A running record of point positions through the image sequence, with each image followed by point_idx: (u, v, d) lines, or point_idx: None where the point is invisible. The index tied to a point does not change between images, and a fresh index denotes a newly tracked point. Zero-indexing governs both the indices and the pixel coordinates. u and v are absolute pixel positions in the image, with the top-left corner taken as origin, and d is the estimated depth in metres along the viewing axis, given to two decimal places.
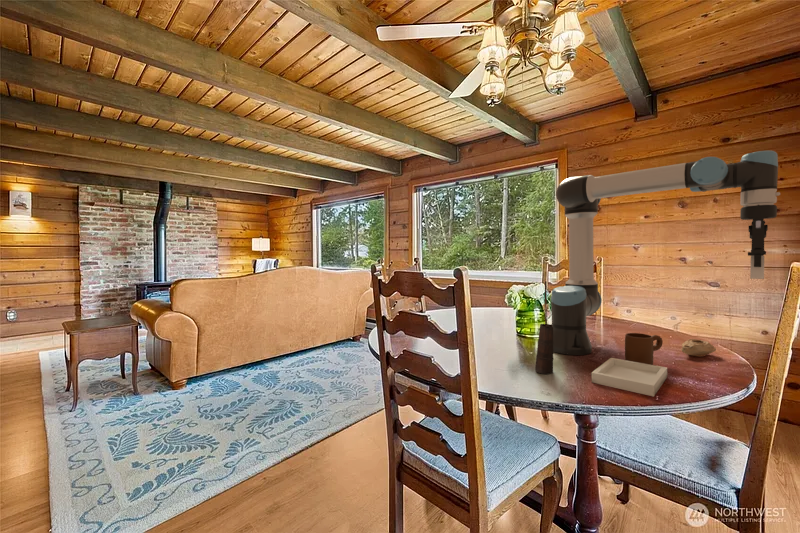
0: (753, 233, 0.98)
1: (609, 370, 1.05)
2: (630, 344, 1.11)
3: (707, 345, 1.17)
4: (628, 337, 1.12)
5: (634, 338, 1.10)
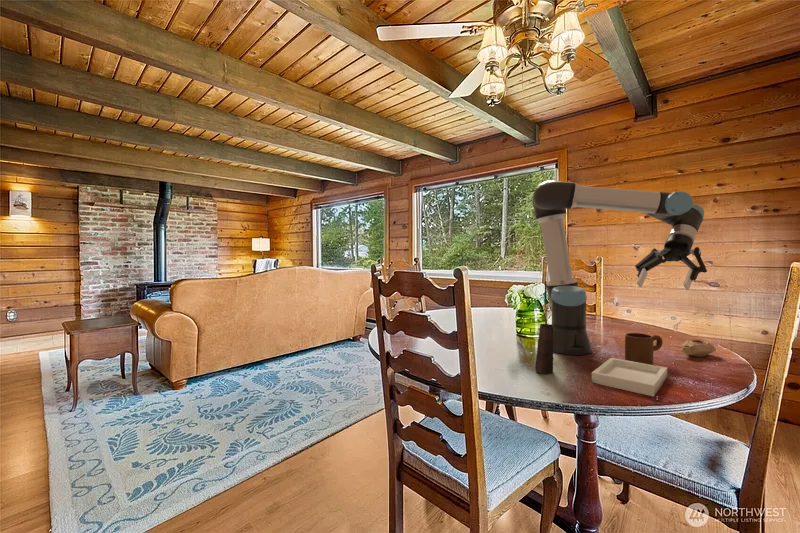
0: (699, 255, 1.14)
1: (609, 370, 1.05)
2: (630, 344, 1.11)
3: (707, 345, 1.17)
4: (628, 337, 1.12)
5: (634, 338, 1.10)
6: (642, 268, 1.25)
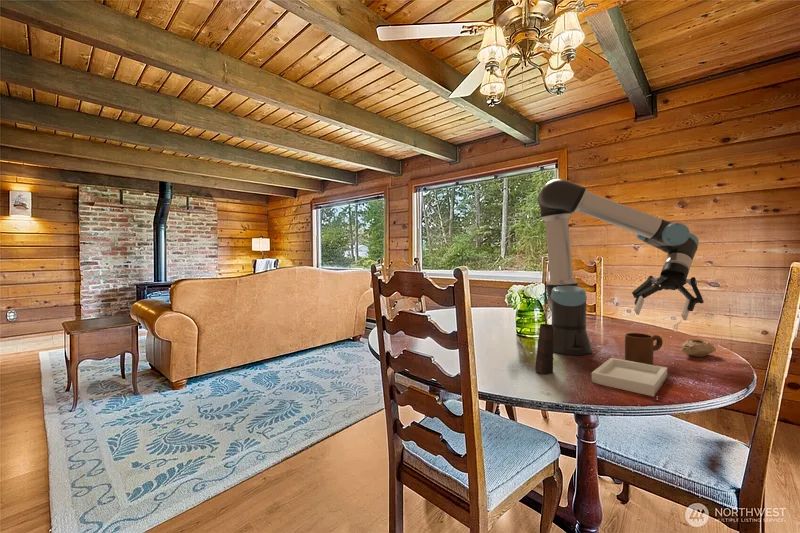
0: (696, 285, 1.16)
1: (609, 370, 1.05)
2: (630, 344, 1.11)
3: (707, 345, 1.17)
4: (628, 337, 1.12)
5: (634, 338, 1.10)
6: (639, 295, 1.26)
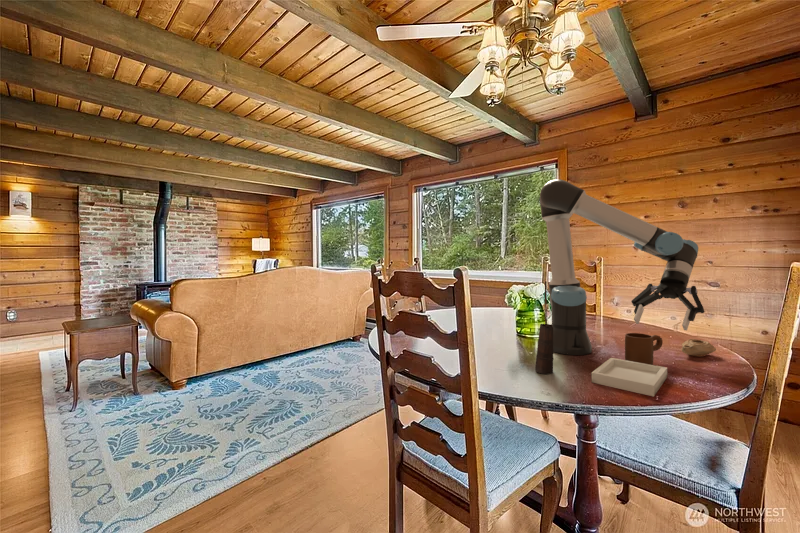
0: None
1: (609, 370, 1.05)
2: (630, 344, 1.11)
3: (707, 345, 1.17)
4: (628, 337, 1.12)
5: (634, 338, 1.10)
6: (639, 304, 1.24)
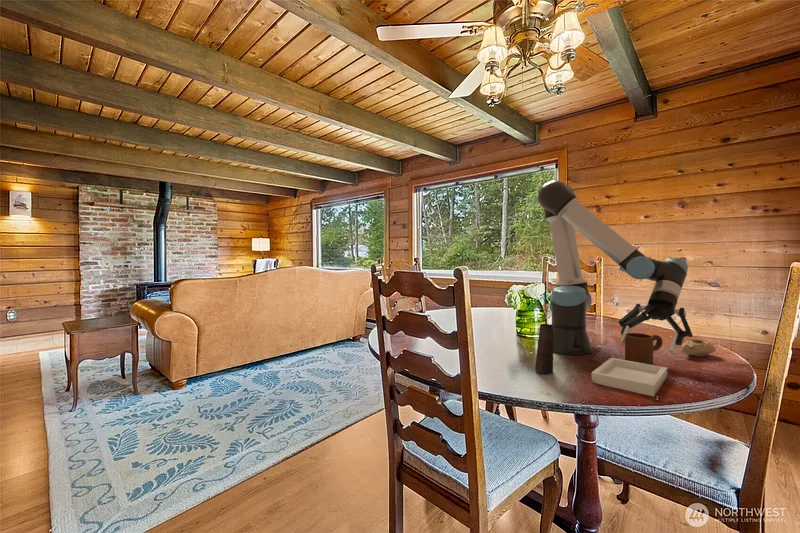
0: None
1: (609, 370, 1.05)
2: (630, 344, 1.11)
3: (707, 345, 1.17)
4: (628, 337, 1.12)
5: (634, 338, 1.10)
6: (626, 325, 1.20)
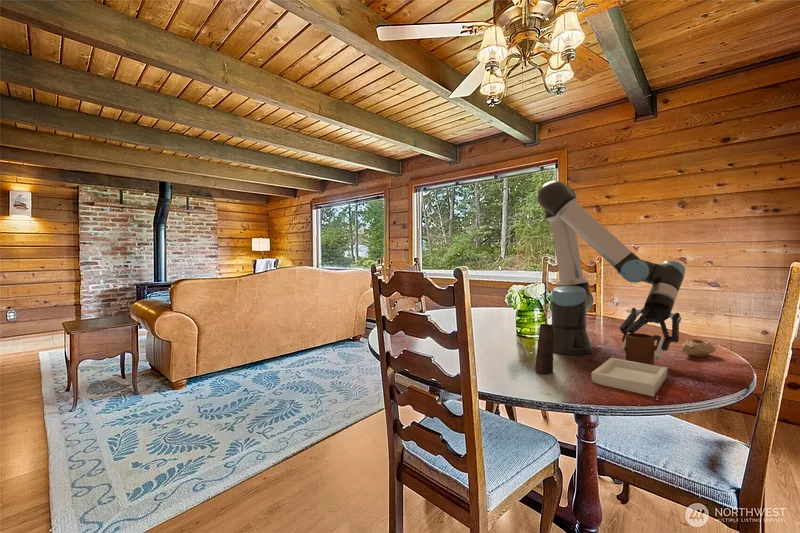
0: (677, 323, 1.10)
1: (609, 370, 1.05)
2: (631, 344, 1.11)
3: (707, 345, 1.17)
4: (629, 337, 1.11)
5: (635, 338, 1.10)
6: (627, 332, 1.17)
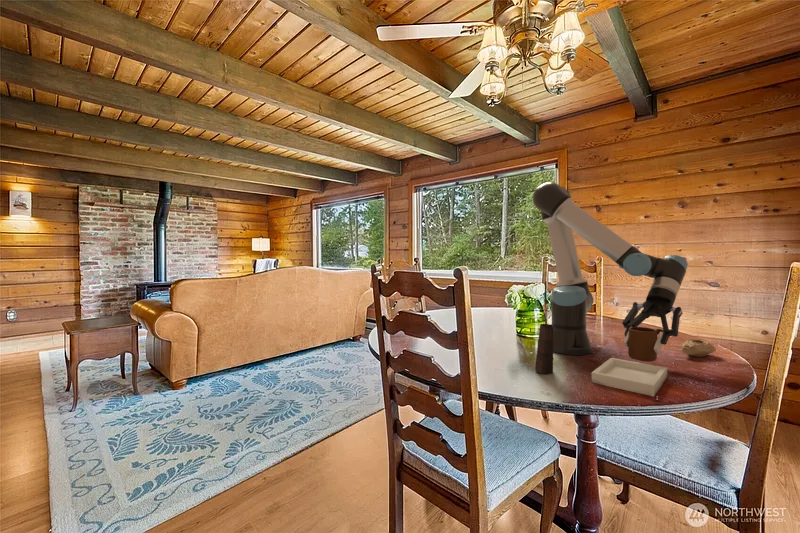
0: (677, 317, 1.09)
1: (609, 370, 1.05)
2: (634, 338, 1.10)
3: (707, 345, 1.17)
4: (632, 331, 1.11)
5: (638, 332, 1.09)
6: (630, 326, 1.16)
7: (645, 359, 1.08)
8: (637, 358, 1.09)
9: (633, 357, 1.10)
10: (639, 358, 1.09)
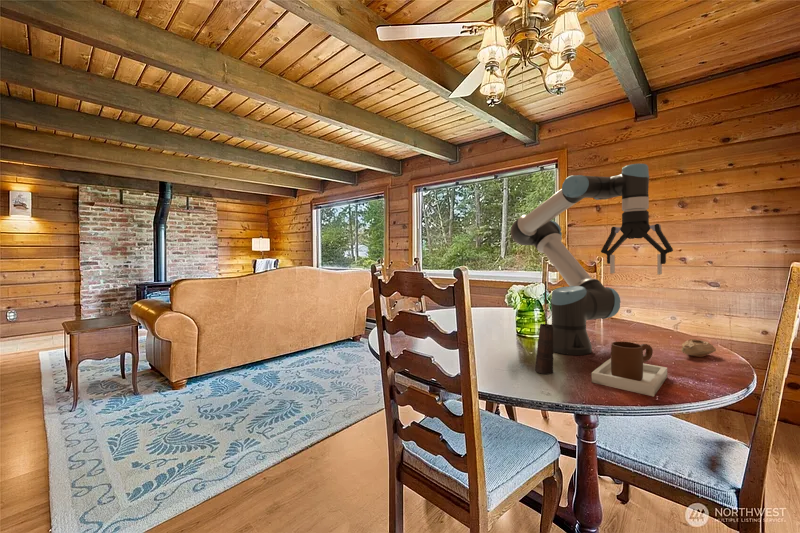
0: (662, 234, 1.12)
1: (609, 370, 1.05)
2: (617, 355, 0.97)
3: (707, 345, 1.17)
4: (615, 347, 0.98)
5: (622, 348, 0.96)
6: (609, 254, 1.23)
7: None
8: None
9: None
10: None
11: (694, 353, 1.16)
